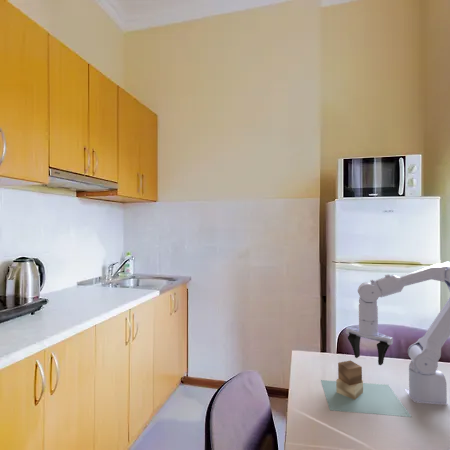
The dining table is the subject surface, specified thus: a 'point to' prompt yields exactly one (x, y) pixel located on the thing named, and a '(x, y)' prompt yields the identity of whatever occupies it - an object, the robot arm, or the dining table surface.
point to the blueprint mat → (365, 400)
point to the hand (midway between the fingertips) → (368, 360)
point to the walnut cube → (350, 372)
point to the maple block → (349, 389)
